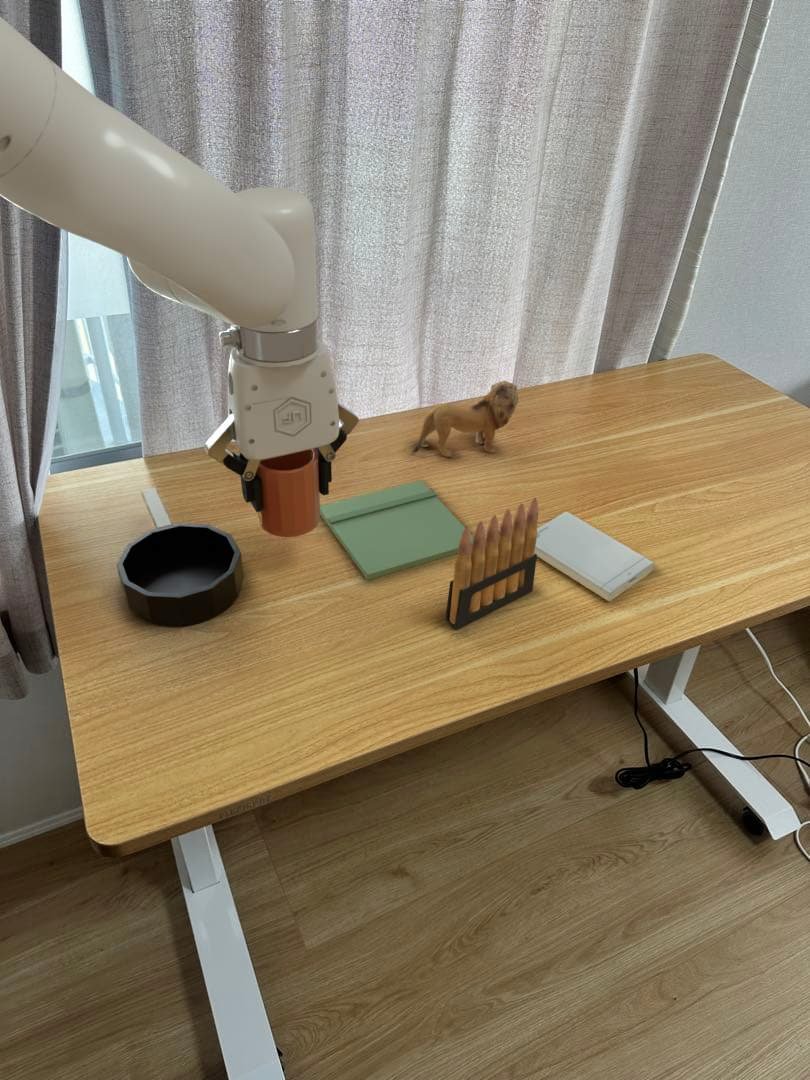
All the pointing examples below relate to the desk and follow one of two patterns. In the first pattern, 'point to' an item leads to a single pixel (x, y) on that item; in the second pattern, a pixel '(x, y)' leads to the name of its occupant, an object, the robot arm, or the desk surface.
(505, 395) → the lion figurine
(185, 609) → the pan
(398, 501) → the notepad
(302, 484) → the cup
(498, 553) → the ammunition clip
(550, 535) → the hard drive
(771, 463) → the desk surface
